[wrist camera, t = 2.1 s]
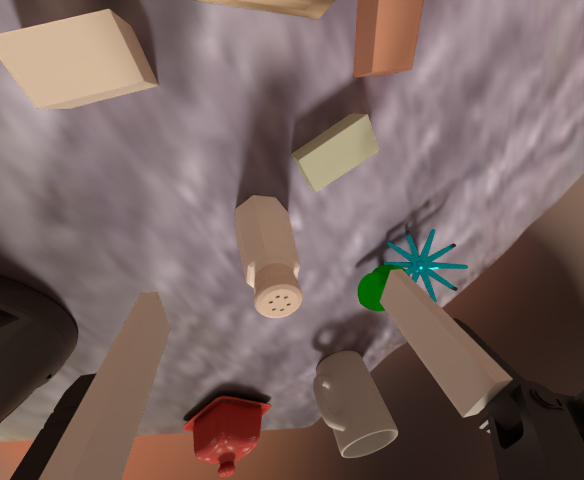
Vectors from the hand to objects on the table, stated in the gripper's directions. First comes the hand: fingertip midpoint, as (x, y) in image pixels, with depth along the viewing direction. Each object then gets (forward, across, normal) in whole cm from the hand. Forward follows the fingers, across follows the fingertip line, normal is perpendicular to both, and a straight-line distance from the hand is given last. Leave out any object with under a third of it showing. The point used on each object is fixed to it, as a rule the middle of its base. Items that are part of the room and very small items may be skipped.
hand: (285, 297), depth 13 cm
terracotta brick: (+11, +8, +15) cm, 20 cm away
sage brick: (+11, +5, +7) cm, 14 cm away
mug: (+11, +11, -28) cm, 32 cm away
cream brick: (+10, -11, +11) cm, 19 cm away
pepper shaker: (+11, -1, 0) cm, 11 cm away
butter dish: (+11, -7, -37) cm, 39 cm away
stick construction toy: (+12, +15, -5) cm, 20 cm away
